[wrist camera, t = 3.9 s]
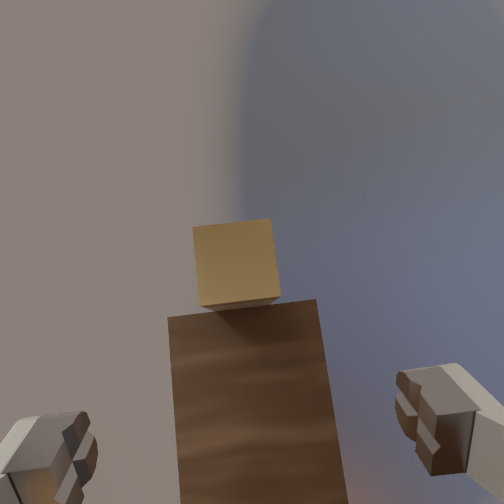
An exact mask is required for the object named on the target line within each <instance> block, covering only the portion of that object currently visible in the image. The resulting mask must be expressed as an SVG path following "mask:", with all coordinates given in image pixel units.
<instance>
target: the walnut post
mask: <svg viewBox="0 0 504 504" xmlns="http://www.w3.org/2000/svg"><path fill="white" fill-rule="evenodd" d="M168 331H169V345H170V360H171V372H172V373H171V374H172V388H173V401H174V415H175V429H176V443H177V457H178V471H179V484H180V499H181V504H348V498H347V492H346V486H345V479H344V473H343V466H342V460H341V455H340V447H339V441H338V435H337V429H336V422H335V417H334V410H333V403H332V397H331V391H330V385H329V378H328V372H327V366H326V359H325V353H324V347H323V340H322V334H321V328H320V321H319V315H318V309H317V302H316V299H313V300H305V301H297V302H289V303H281V304H273V305H265V306H256V307H248V308H240V309H232V310H224V311H216V312H208V313H200V314H191V315H183V316H175V317H168Z"/></svg>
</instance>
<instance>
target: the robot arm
mask: <svg viewBox="0 0 504 504" xmlns="http://www.w3.org/2000/svg"><path fill="white" fill-rule="evenodd" d="M396 384H397V386H398V387H399V389H400V390H401V391H400V392H399V394H398V395H397V396H396V398H395V409H396V414H397V419H398V421H399V424H400V426H401V428H402V430H403V432H404V433H405V435H406V436H407V437H409V438H410V439H412V440H413V441H415V442H416V450H415V451H416V453H417V455H418V456H419V458H420V460H421V461H422V463H423V465H424V466H425V468H426V469H427V471H428V473H429V474H430V476H437V475H446V474H456V473H466V472H467V475H468V476H469V477H470V478H472V479H473V480H474V481H476V482H477V483H478V484H480V485H481V486H482V487H484V488H485V489H486V490H488V491H489V492H490V493H492V494H493V495H494V496H496V497H497V498H498V499H500V500H501V501H502V502H504V407H503V406H502V405H501V404H500V403H499V402H498V401H497V400H496V399H495V398H493V396H491V395H490V393H488V392H487V391H486V390H485V389H484V388H483V387H482V386H481V385H480V384H479V383H478V382H477V381H476V380H475V379H474V378H473V377H471V375H470V374H469V373H468V372H466V371H465V369H463V368H462V367H461V366H460V365H458V364H456V363H451V364H444V365H438V366H433V367H425V368H418V369H411V370H403V371H399V372H398V374H397V378H396ZM89 425H90V420H89V418H88V415H87V413H86V412H83V411H79V412H70V413H60V414H50V415H43V416H34V417H24V418H22V419H20V420H19V421H17V422H16V423H15V425H14V426H13V428H12V429H11V430H10V431H9V433H8V434H7V436H6V437H5V438H4V440H3V441H2V442H1V444H0V504H82V501H83V499H84V494H83V491H82V487H83V486H84V485H85V484H86V483H87V482H88V481H89V480H90V479H91V478H92V476H93V473H94V470H95V467H96V462H97V456H98V451H97V443H96V439H95V436H93V435H92V434H91V433H89V432H88V431H87V429H88V427H89Z"/></svg>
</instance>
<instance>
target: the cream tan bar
mask: <svg viewBox="0 0 504 504" xmlns="http://www.w3.org/2000/svg"><path fill="white" fill-rule="evenodd" d="M193 239H194V250H195V261H196V272H197V283H198V293H199V305H200V306H201V307H204V308H207V309H210V310H213V311H224V310H232V309H240V308H248V307H256V306H265V305H270V304H271V303H272V302H274V301H275V300H277V299H278V298H279V297H280V296H281V292H280V285H279V277H278V270H277V263H276V256H275V249H274V242H273V234H272V227H271V220H270V218H269V219H260V220H251V221H242V222H233V223H224V224H215V225H206V226H198V227H193Z"/></svg>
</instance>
